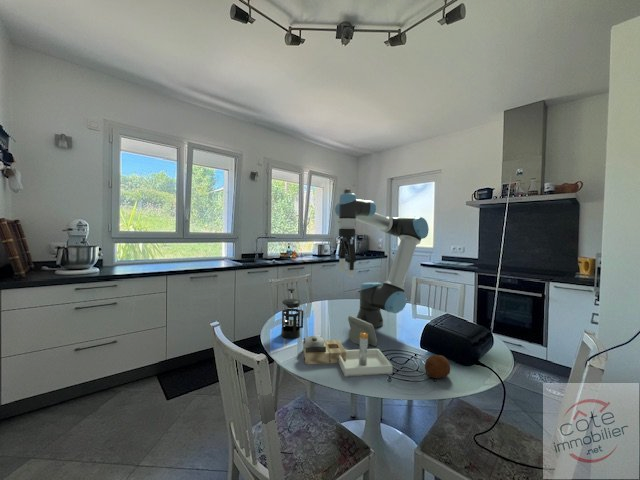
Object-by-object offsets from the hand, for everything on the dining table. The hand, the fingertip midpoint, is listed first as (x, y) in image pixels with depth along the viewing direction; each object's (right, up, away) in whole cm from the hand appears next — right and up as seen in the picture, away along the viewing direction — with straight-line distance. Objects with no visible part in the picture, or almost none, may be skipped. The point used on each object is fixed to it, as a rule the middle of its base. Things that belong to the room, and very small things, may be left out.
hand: (346, 274), depth 121 cm
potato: (+31, -34, -24) cm, 52 cm away
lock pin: (+5, -33, -18) cm, 37 cm away
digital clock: (+8, -33, +5) cm, 34 cm away
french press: (-26, -31, +9) cm, 42 cm away
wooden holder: (-11, -32, -11) cm, 36 cm away
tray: (+5, -33, -18) cm, 38 cm away
